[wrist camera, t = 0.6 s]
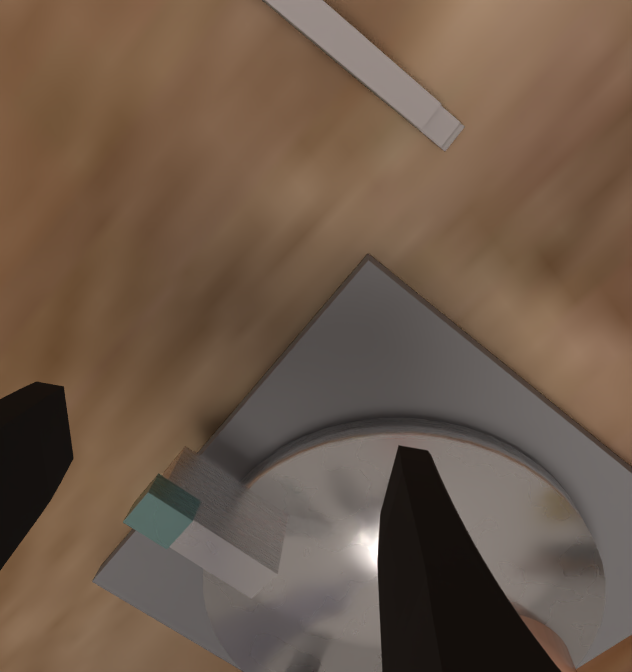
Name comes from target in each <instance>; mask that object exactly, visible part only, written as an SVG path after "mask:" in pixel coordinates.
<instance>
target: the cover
mask: <svg viewBox="0 0 632 672" xmlns="http://www.w3.org/2000/svg"><path fill="white" fill-rule="evenodd" d="M519 616H520V617H521V618H522V620H523V621H524V623H525V624H526V625H527V627H528V628H529V630H530V631H531V632H532V634H533V635H534V636H535V638H536V639H537V640H538V642H539V643H540V644H541V646H542V647H543V648H544V650H545V651H546V652H547V654H548V655H549V656H550V658H551V659H552V660H553V662H554V663H555V664H556V665H557V667H558V668H559V669H560V670H561V671H562V672H577V671H576V668H575V666H574V663H573V660H572V658H571V655H570V653H569V650H568V648H567V646H566V645H565V643H564V641H563V640H562V639H561V638H560V637H559V636H558V635H557V634H556V633H555V632H554V631H553V630H552V629H550V628H549V627H547V626H546V625H544V624H542V623H540V622H538V621H536V620H534V619H531V618H528V617H525V616H522V615H519Z"/></svg>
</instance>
